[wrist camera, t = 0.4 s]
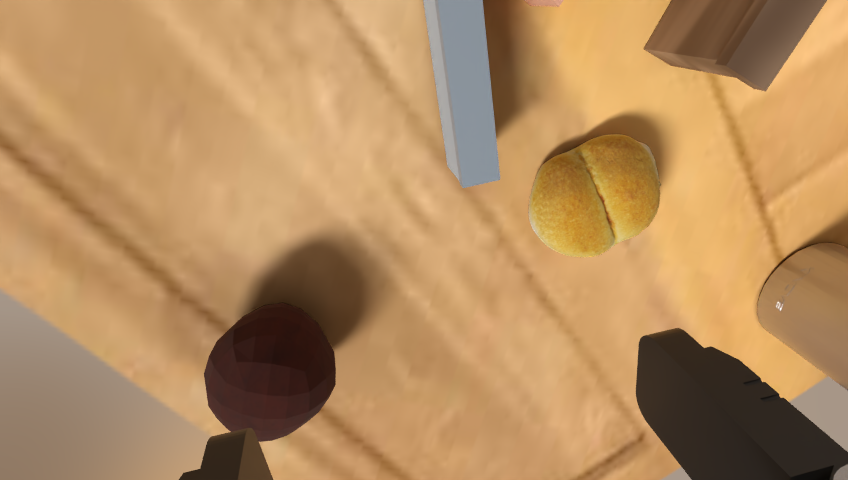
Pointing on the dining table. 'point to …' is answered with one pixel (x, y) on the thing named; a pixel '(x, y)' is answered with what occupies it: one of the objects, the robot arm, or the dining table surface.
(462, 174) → the grey rectangular bar
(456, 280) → the dining table surface
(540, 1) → the block
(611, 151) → the bread roll
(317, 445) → the dining table surface
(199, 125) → the dining table surface
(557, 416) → the dining table surface
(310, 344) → the dark maroon ball
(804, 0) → the stepped wooden slab
